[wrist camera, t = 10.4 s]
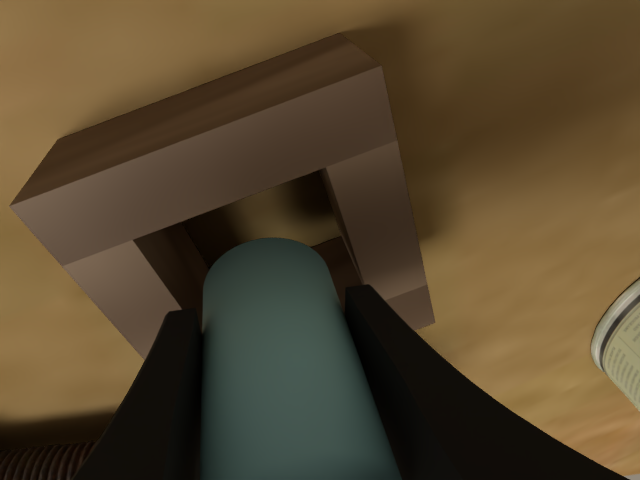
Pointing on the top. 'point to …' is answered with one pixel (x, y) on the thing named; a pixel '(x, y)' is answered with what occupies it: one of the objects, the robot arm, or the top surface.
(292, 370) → the dowel
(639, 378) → the coffee can
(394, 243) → the mount
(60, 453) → the bolt
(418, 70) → the top surface
